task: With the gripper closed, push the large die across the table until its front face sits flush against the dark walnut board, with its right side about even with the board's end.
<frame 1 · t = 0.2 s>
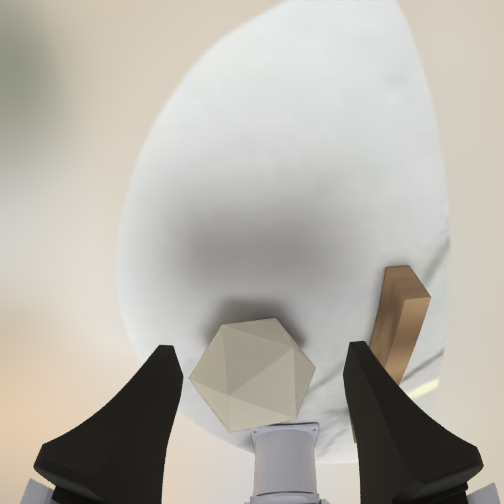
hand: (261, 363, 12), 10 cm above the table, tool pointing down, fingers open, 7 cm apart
die: (255, 337, 25), on the table
walnut board: (376, 358, 25), on the table
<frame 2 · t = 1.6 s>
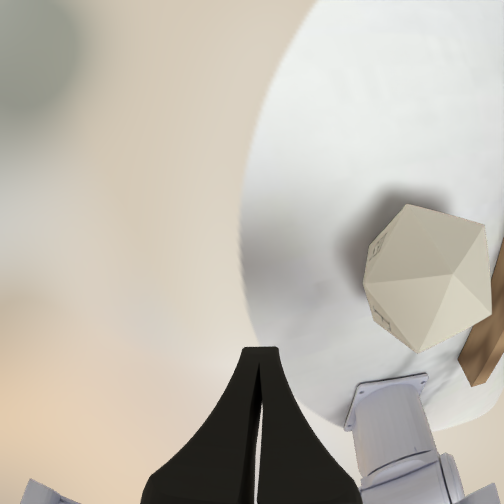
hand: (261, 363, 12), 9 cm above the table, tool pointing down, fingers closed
die: (404, 246, 20), on the table
walnut board: (498, 279, 20), on the table
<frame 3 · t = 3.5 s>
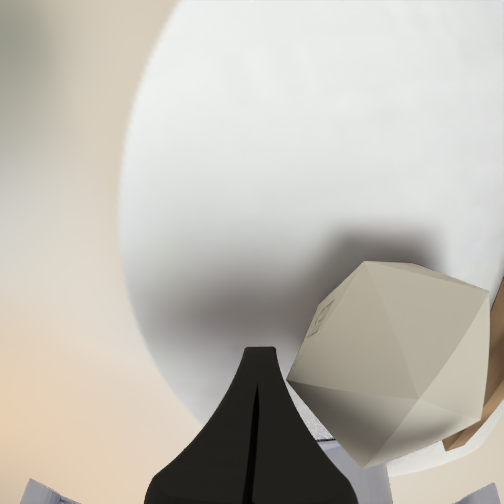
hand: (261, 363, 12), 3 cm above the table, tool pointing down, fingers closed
die: (372, 302, 15), on the table, touching gripper
walnut board: (489, 332, 15), on the table
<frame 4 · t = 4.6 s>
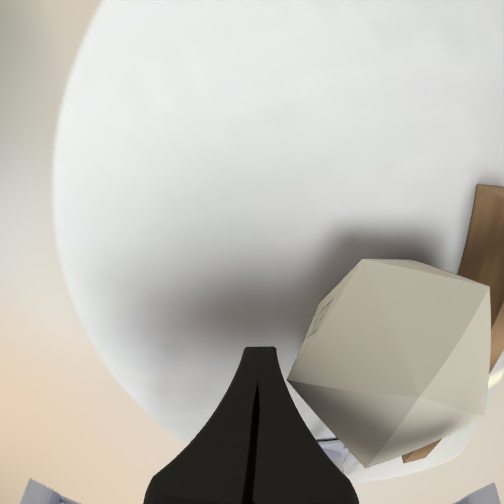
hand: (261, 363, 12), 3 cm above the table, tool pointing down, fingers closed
die: (373, 300, 15), on the table, touching gripper
walnut board: (446, 340, 16), on the table
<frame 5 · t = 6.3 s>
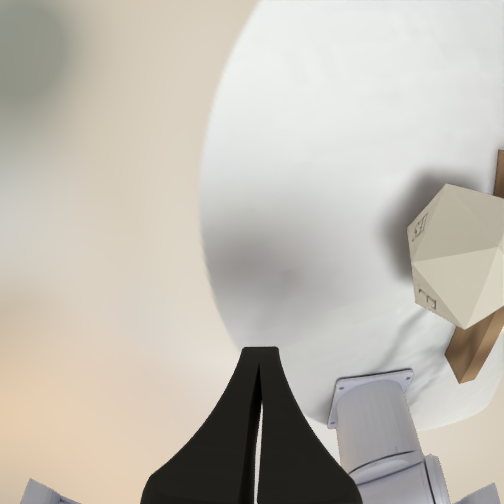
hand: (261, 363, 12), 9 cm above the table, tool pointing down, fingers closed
die: (439, 228, 19), on the table
walnut board: (484, 268, 20), on the table
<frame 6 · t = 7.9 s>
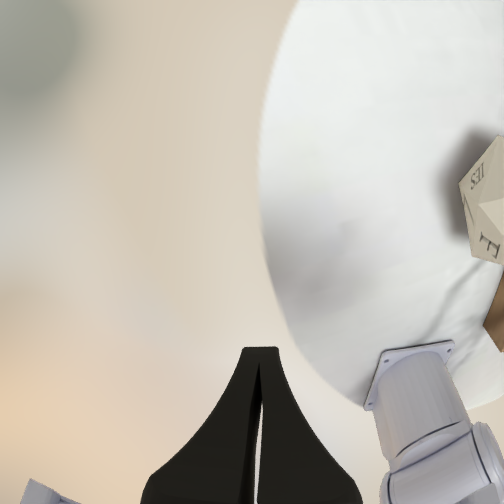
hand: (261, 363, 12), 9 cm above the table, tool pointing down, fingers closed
die: (484, 187, 17), on the table
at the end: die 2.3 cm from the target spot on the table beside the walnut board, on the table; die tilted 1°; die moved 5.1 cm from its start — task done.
